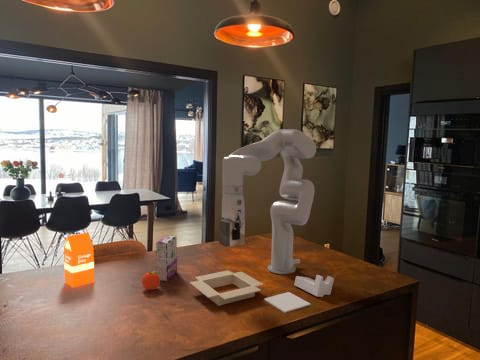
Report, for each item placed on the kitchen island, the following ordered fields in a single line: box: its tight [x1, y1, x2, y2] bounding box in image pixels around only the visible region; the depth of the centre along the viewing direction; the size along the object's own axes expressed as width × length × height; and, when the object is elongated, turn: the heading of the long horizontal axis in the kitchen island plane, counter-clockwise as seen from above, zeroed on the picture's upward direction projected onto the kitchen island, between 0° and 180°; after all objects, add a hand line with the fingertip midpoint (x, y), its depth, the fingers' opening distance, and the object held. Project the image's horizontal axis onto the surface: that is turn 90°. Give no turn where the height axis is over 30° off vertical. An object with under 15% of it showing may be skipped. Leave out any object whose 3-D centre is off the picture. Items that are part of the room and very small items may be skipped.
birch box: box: [218, 219, 246, 248], centre depth 140 cm, size 8×5×9 cm, turn 122°
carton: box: [189, 270, 264, 306], centre depth 143 cm, size 24×24×4 cm
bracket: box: [293, 274, 335, 298], centre depth 147 cm, size 13×7×8 cm, turn 33°
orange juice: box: [63, 232, 95, 289], centre depth 150 cm, size 8×9×20 cm
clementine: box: [141, 270, 161, 291], centre depth 145 cm, size 8×7×7 cm
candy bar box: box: [155, 235, 178, 282], centre depth 158 cm, size 11×5×16 cm, turn 168°
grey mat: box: [263, 291, 311, 314], centre depth 136 cm, size 12×12×1 cm
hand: (232, 237), depth 140 cm, fingers closed on birch box, 5 cm apart
